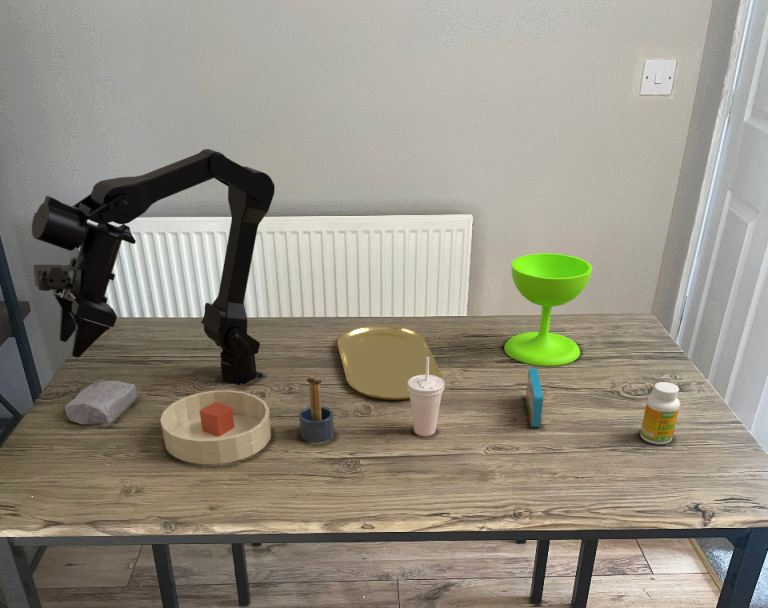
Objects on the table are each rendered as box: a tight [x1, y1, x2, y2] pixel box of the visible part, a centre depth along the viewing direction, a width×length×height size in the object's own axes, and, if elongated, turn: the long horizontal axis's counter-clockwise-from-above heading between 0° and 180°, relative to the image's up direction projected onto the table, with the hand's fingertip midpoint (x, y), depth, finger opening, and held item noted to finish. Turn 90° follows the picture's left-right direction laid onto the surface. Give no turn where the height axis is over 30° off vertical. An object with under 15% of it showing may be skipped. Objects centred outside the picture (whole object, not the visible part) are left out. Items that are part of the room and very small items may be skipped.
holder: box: [298, 406, 335, 444], centre depth 139 cm, size 6×6×4 cm
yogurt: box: [525, 368, 544, 428], centre depth 146 cm, size 12×2×6 cm, turn 176°
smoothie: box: [407, 357, 445, 437], centre depth 138 cm, size 6×6×14 cm
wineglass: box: [503, 252, 593, 367], centre depth 165 cm, size 16×16×18 cm
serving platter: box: [337, 324, 442, 401], centre depth 164 cm, size 19×35×2 cm, turn 9°
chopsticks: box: [306, 375, 322, 421], centre depth 137 cm, size 1×2×11 cm, turn 57°
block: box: [200, 402, 234, 437], centre depth 141 cm, size 4×4×4 cm
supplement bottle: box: [639, 381, 681, 445], centre depth 137 cm, size 5×5×10 cm
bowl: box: [159, 389, 272, 465], centre depth 138 cm, size 18×18×5 cm
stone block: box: [64, 380, 138, 426], centre depth 148 cm, size 12×5×10 cm
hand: (68, 348), depth 136 cm, fingers open, 9 cm apart
